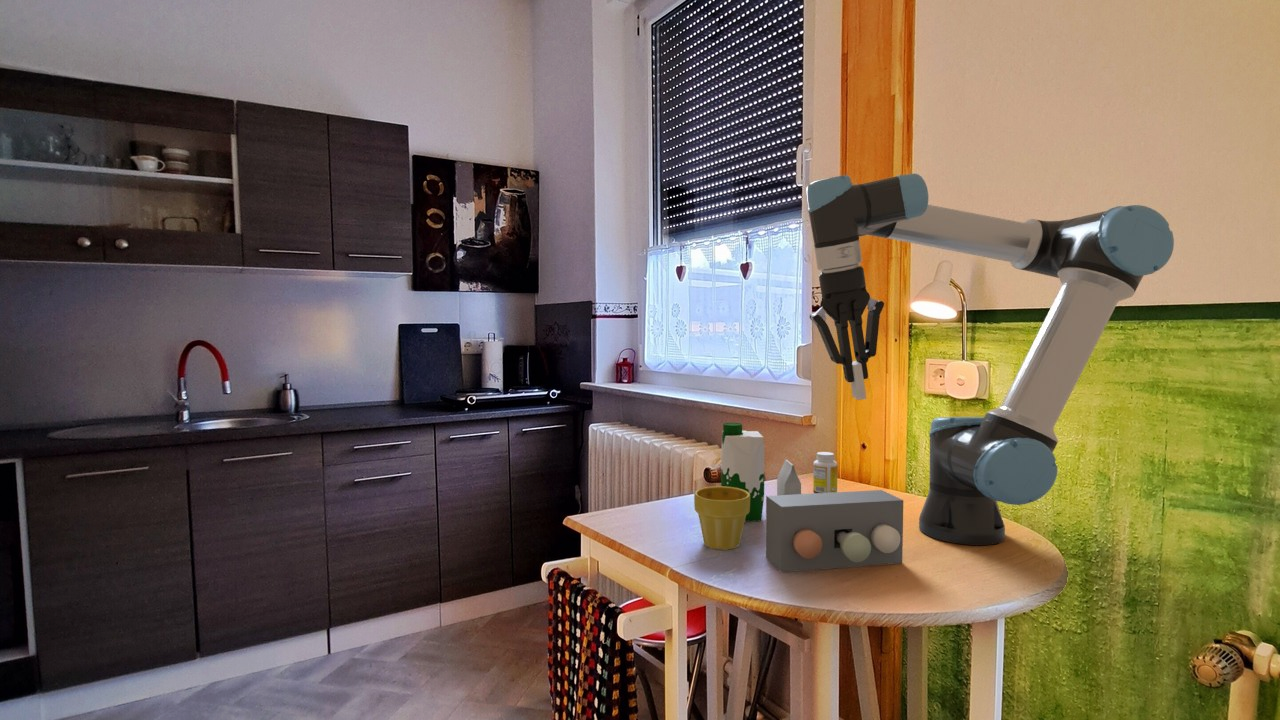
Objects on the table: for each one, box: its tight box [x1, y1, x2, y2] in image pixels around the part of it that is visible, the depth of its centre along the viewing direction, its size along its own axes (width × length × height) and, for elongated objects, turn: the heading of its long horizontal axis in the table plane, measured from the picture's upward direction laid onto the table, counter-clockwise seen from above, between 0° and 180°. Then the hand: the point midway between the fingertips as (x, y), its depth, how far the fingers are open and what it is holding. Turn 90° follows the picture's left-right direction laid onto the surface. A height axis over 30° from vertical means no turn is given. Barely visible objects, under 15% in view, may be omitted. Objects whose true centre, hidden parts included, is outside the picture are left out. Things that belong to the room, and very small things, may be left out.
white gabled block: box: [776, 459, 802, 495], centre depth 147 cm, size 4×7×10 cm, turn 2°
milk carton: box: [720, 422, 765, 522], centre depth 139 cm, size 9×9×20 cm
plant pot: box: [693, 485, 750, 551], centre depth 121 cm, size 10×10×10 cm
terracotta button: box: [793, 529, 822, 559], centre depth 109 cm, size 4×6×4 cm
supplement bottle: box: [812, 451, 838, 494], centre depth 156 cm, size 6×6×10 cm
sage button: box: [835, 531, 871, 562], centre depth 107 cm, size 4×6×4 cm
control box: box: [765, 489, 904, 573], centre depth 113 cm, size 22×7×11 cm, turn 100°
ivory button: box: [871, 524, 900, 553], centre depth 111 cm, size 4×6×4 cm
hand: (859, 397), depth 117 cm, fingers closed
